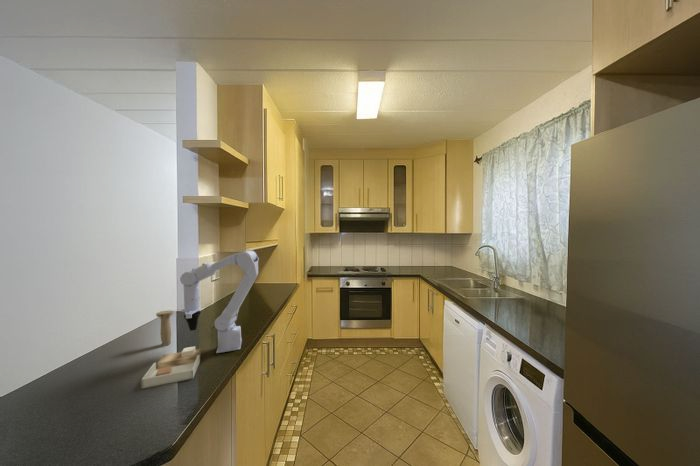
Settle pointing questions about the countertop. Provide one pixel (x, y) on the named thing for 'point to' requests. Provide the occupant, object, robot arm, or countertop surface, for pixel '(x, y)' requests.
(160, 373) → the terracotta tile
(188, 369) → the tray
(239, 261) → the robot arm
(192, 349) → the cream tile
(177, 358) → the oak board
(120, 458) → the countertop surface
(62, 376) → the countertop surface
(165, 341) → the handle
